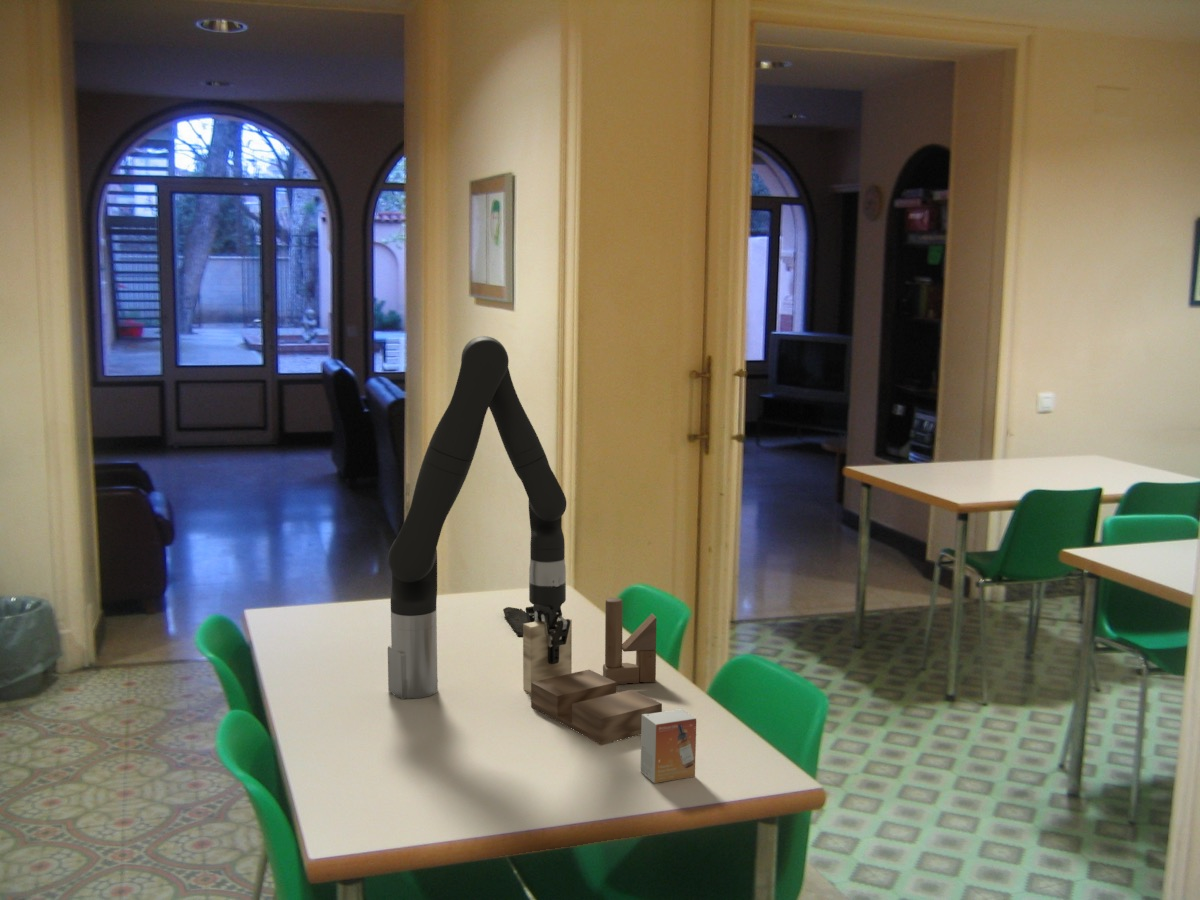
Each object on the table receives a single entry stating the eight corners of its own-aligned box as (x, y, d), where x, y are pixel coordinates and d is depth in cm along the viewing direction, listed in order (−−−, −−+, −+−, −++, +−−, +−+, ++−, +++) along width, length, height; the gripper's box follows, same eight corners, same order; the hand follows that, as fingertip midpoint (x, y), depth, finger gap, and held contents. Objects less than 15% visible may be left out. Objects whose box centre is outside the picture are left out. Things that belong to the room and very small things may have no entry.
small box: (654, 784, 199) (654, 724, 198) (639, 772, 204) (640, 713, 203) (696, 777, 202) (697, 718, 201) (681, 764, 207) (682, 707, 206)
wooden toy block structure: (656, 682, 250) (657, 599, 247) (606, 686, 247) (606, 602, 245) (651, 677, 253) (652, 595, 251) (602, 680, 251) (603, 597, 248)
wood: (548, 637, 282) (548, 625, 282) (518, 639, 280) (518, 627, 280) (528, 612, 304) (528, 601, 303) (500, 614, 302) (500, 603, 301)
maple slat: (530, 693, 243) (530, 627, 241) (523, 689, 245) (523, 623, 243) (571, 684, 248) (571, 619, 246) (563, 680, 251) (563, 616, 249)
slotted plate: (601, 745, 216) (601, 718, 215) (531, 706, 235) (531, 682, 234) (661, 728, 224) (661, 703, 223) (589, 692, 243) (589, 669, 242)
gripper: (513, 575, 247) (514, 654, 250) (550, 590, 236) (550, 673, 238) (544, 570, 251) (544, 648, 254) (582, 584, 240) (581, 666, 242)
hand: (547, 660), depth 246 cm, fingers open, 4 cm apart
